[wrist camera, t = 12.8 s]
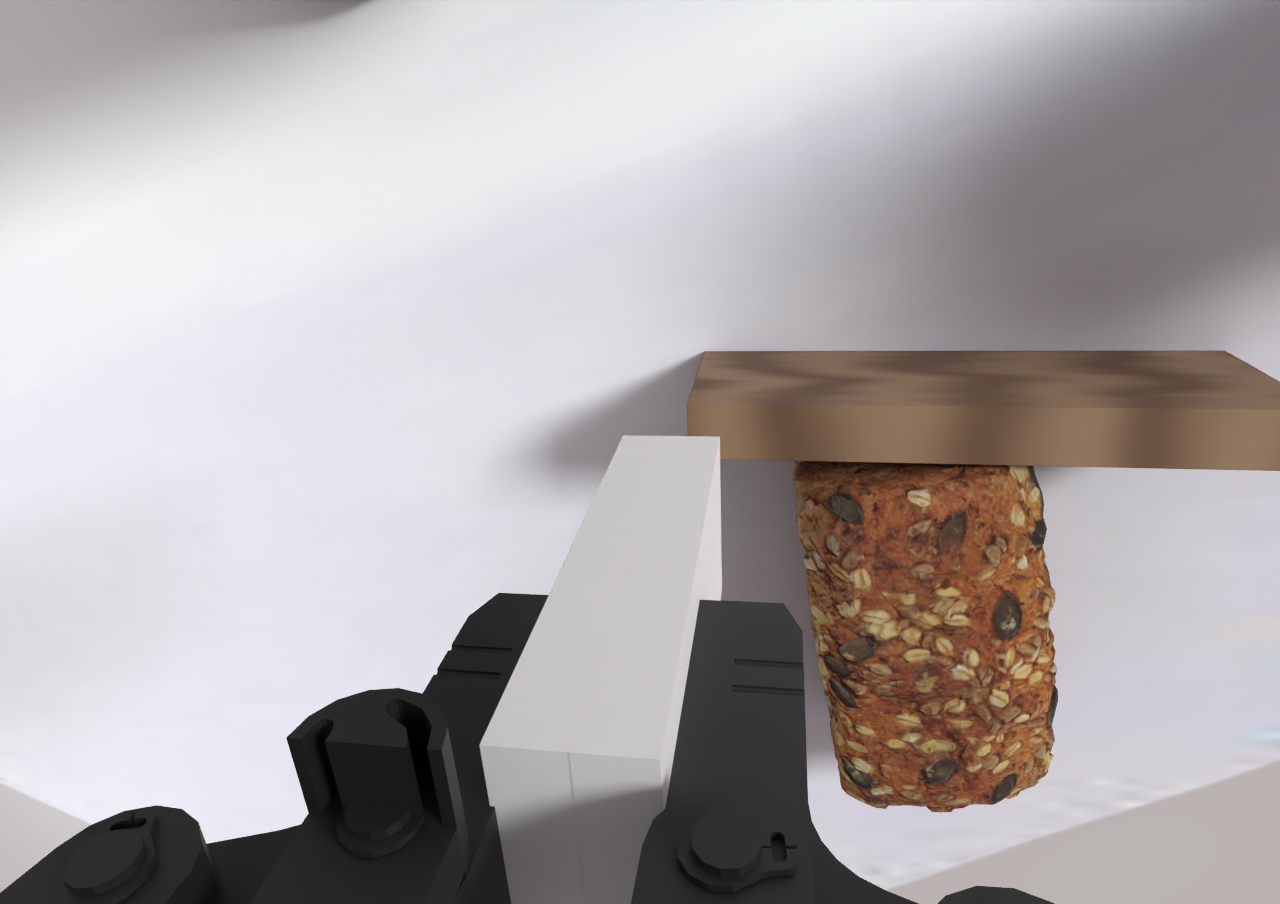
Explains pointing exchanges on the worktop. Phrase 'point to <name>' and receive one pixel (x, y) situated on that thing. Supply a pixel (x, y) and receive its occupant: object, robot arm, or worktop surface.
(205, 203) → the worktop surface
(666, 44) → the worktop surface
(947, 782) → the bread
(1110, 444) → the walnut board
